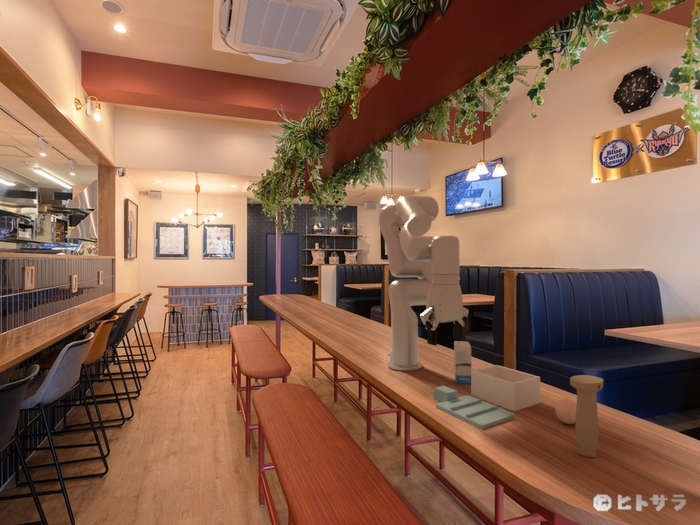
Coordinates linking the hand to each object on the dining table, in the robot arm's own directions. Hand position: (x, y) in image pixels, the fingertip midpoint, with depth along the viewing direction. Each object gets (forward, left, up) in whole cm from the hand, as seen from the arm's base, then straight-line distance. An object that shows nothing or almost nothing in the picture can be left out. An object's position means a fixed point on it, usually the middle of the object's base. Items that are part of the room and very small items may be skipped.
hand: (445, 342), depth 106 cm
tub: (+8, +14, -16) cm, 23 cm away
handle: (+36, +2, -16) cm, 40 cm away
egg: (+26, +13, -16) cm, 34 cm away
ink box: (-10, +17, -16) cm, 26 cm away
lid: (+8, 0, -16) cm, 18 cm away
